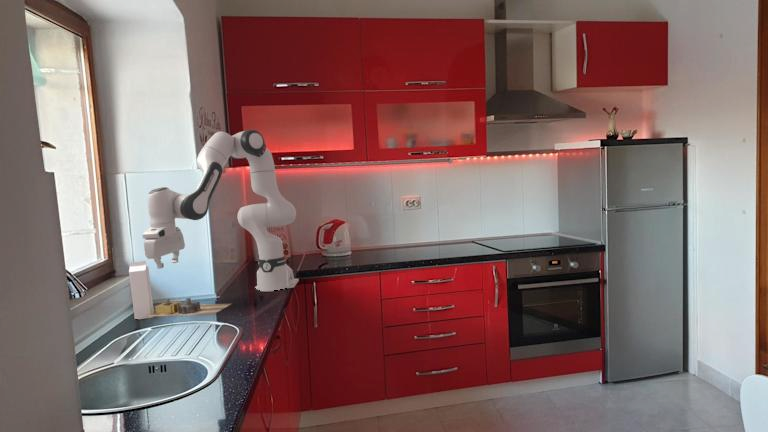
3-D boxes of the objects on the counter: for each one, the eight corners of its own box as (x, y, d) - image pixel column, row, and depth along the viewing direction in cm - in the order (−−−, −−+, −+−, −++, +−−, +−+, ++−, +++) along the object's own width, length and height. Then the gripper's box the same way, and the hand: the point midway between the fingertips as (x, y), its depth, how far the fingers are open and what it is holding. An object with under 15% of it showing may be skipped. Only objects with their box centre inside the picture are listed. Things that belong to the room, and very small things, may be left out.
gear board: (172, 308, 211) (170, 293, 210) (232, 307, 205) (230, 291, 205) (148, 320, 196) (146, 303, 196) (213, 318, 191) (211, 301, 190)
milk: (151, 317, 199) (144, 262, 197) (134, 320, 198) (127, 263, 196) (154, 313, 205) (147, 259, 203) (137, 316, 204) (131, 261, 202)
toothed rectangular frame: (164, 309, 204) (163, 302, 204) (182, 309, 203) (181, 301, 202) (155, 314, 198) (154, 306, 198) (173, 313, 197) (172, 305, 196)
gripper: (172, 226, 208) (176, 259, 210) (139, 235, 189) (144, 271, 190) (186, 225, 207) (190, 259, 209) (154, 234, 187) (159, 271, 189)
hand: (168, 265), depth 199 cm, fingers open, 8 cm apart
